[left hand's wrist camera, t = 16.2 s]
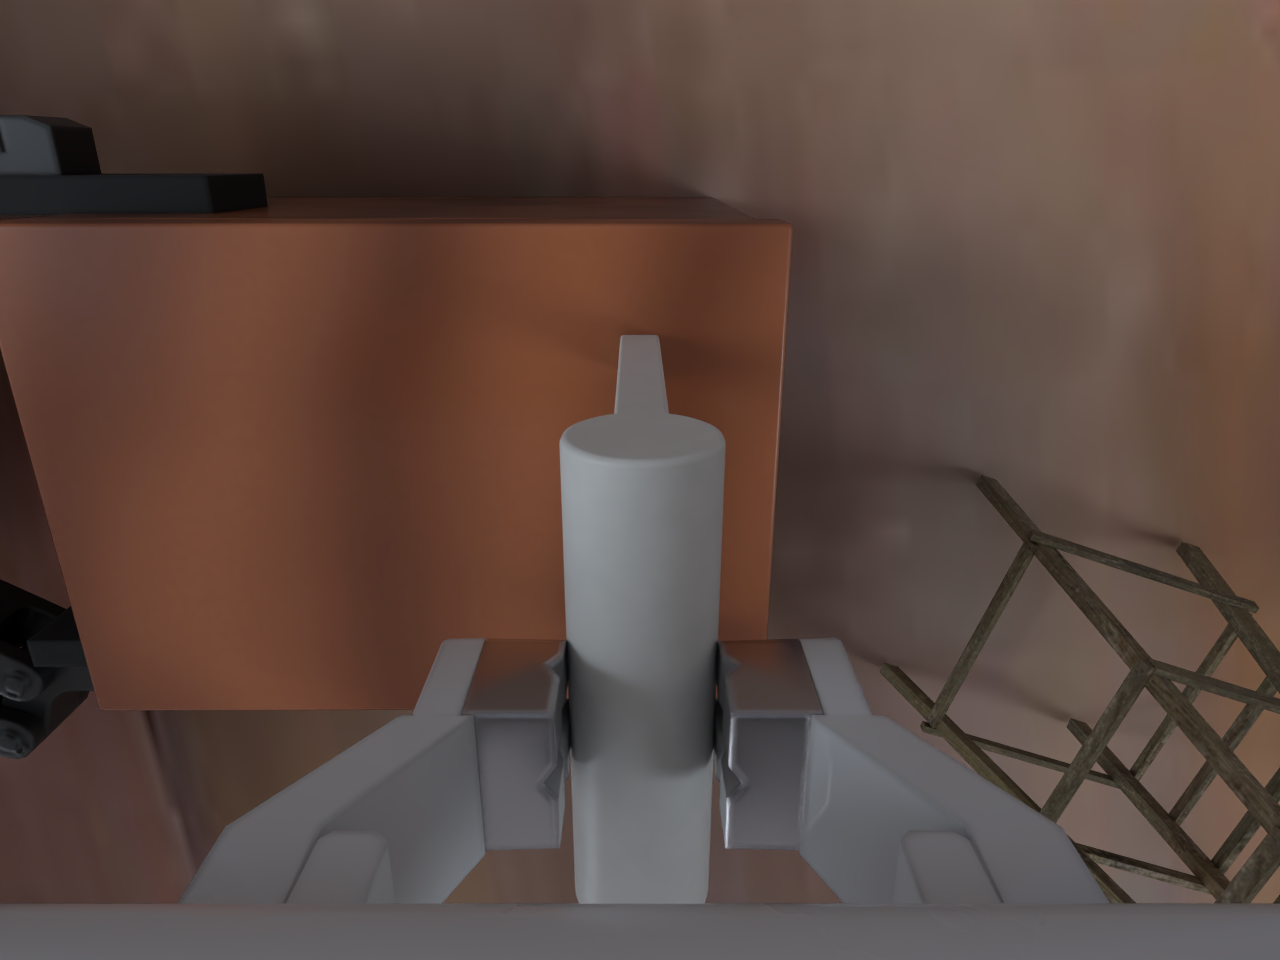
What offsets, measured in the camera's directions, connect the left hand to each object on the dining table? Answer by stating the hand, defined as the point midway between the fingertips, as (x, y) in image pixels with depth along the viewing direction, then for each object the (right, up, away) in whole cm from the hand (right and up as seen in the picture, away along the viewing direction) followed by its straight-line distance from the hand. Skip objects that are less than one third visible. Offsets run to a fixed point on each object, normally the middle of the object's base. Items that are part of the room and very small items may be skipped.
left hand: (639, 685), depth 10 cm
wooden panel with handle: (-5, +3, +7) cm, 9 cm away
